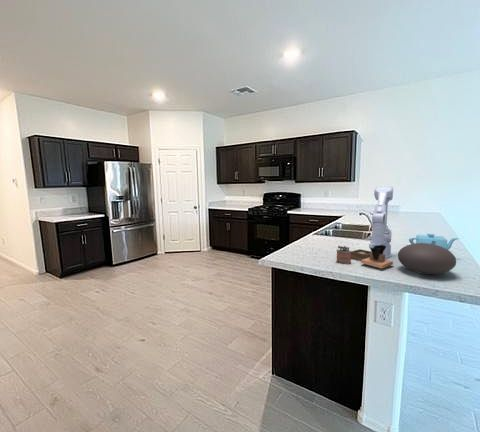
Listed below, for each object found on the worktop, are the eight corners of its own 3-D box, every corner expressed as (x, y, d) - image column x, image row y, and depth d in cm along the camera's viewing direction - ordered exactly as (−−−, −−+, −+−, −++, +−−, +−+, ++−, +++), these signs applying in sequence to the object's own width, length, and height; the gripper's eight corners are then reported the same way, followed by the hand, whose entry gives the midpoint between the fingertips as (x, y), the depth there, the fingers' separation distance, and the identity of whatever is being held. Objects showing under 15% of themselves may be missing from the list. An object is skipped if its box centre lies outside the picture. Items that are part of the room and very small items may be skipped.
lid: (372, 259, 156) (372, 249, 155) (392, 264, 146) (393, 254, 145) (361, 262, 149) (361, 253, 148) (381, 268, 140) (382, 258, 139)
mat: (372, 261, 156) (372, 261, 156) (393, 266, 146) (393, 266, 146) (360, 265, 149) (360, 264, 149) (382, 271, 139) (382, 270, 139)
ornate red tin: (351, 263, 154) (351, 246, 153) (350, 264, 152) (350, 247, 150) (336, 261, 159) (337, 245, 157) (335, 262, 156) (336, 246, 155)
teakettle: (405, 255, 169) (406, 232, 168) (427, 252, 175) (428, 230, 173) (434, 263, 151) (436, 238, 150) (458, 259, 157) (459, 235, 155)
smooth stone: (390, 272, 136) (391, 244, 135) (404, 262, 154) (405, 237, 152) (451, 284, 119) (453, 252, 117) (458, 271, 136) (460, 243, 135)
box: (359, 256, 169) (359, 249, 169) (374, 259, 161) (374, 252, 161) (350, 258, 164) (350, 251, 163) (365, 262, 155) (365, 254, 155)
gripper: (378, 232, 153) (377, 255, 155) (364, 235, 145) (363, 259, 147) (390, 233, 147) (389, 257, 149) (376, 237, 139) (375, 262, 141)
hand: (377, 258), depth 147 cm, fingers closed on lid, 3 cm apart
